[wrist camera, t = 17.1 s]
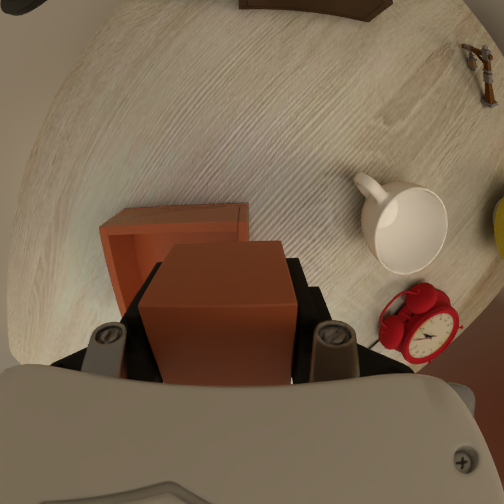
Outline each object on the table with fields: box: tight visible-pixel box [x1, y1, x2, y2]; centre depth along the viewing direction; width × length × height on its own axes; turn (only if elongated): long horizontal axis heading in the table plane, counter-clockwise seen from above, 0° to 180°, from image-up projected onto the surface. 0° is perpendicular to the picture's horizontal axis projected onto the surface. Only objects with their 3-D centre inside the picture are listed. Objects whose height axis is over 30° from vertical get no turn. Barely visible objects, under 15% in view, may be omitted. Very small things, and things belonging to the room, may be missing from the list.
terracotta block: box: [138, 241, 298, 386], centre depth 10 cm, size 4×4×4 cm
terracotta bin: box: [99, 203, 249, 317], centre depth 26 cm, size 13×12×6 cm
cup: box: [353, 172, 448, 275], centre depth 23 cm, size 8×10×7 cm
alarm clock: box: [379, 282, 463, 364], centre depth 30 cm, size 10×6×15 cm
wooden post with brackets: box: [461, 44, 498, 108], centre depth 17 cm, size 2×8×4 cm, turn 33°
